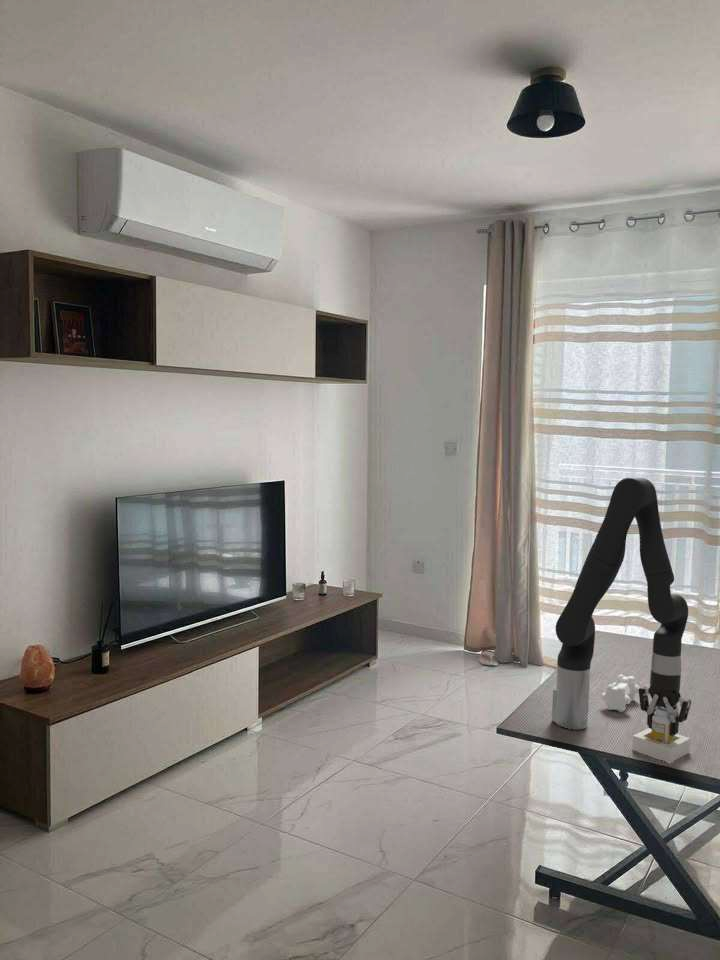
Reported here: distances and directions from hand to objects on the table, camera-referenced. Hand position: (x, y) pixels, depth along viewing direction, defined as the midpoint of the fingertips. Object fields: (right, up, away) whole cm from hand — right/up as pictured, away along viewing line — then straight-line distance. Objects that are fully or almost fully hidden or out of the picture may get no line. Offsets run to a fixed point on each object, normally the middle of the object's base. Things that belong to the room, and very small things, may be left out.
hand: (662, 731), depth 213 cm
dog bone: (0, -3, +35) cm, 35 cm away
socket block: (0, -6, 0) cm, 6 cm away
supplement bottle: (0, -4, 0) cm, 4 cm away
